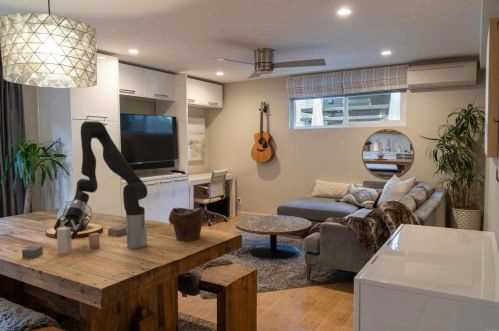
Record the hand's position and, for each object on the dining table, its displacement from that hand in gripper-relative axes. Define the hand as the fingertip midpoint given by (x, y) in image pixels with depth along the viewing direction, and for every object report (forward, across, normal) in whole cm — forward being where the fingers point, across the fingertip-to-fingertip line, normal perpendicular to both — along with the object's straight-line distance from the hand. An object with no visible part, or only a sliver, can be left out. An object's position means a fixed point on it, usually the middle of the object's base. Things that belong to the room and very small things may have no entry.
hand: (64, 238), depth 175 cm
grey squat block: (+10, -12, 0) cm, 16 cm away
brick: (-21, +14, +32) cm, 40 cm away
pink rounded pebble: (-1, +11, +11) cm, 15 cm away
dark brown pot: (-14, +55, +24) cm, 62 cm away
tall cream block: (+5, 0, +5) cm, 7 cm away
